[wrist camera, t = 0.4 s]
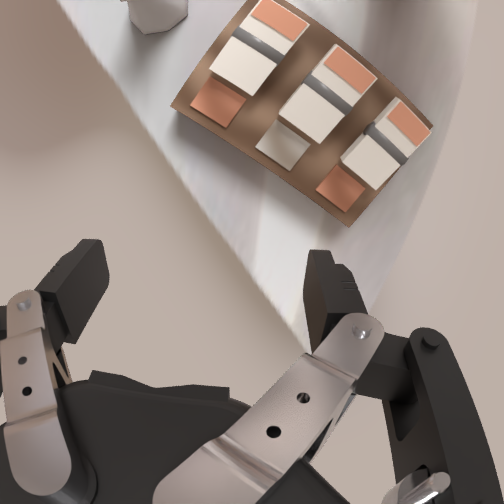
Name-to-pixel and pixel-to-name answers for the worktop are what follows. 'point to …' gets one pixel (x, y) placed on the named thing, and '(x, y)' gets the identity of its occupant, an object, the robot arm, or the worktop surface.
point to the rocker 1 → (258, 45)
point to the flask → (156, 14)
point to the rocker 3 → (385, 144)
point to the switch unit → (281, 130)
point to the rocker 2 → (327, 93)
